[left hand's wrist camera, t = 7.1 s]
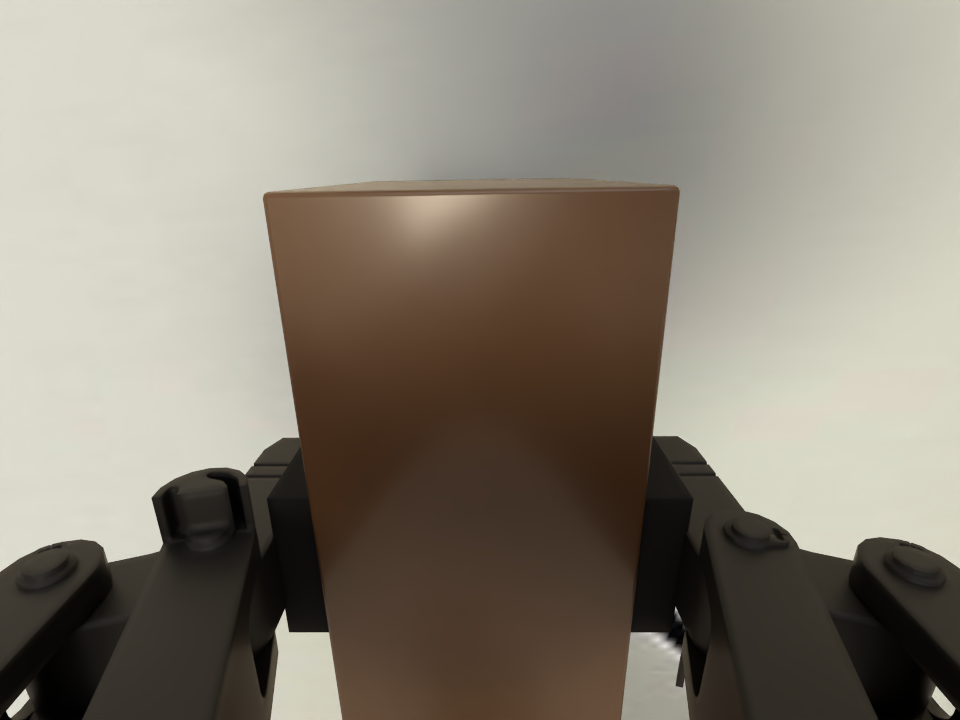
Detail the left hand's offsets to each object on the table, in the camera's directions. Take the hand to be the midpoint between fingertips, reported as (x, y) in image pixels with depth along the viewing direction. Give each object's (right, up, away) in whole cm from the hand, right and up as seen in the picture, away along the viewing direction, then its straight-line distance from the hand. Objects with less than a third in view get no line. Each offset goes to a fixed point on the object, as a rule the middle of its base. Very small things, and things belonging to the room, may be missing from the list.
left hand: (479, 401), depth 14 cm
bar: (0, -20, +8) cm, 21 cm away
